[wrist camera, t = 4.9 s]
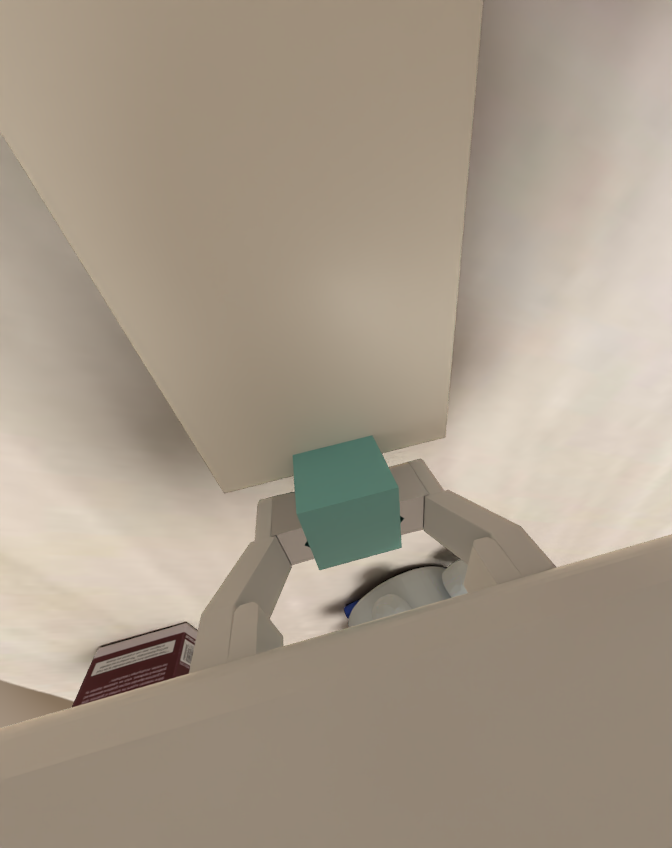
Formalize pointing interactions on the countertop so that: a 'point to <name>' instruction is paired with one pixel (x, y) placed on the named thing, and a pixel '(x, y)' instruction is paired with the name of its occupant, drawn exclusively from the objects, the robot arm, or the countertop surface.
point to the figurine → (409, 592)
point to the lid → (265, 221)
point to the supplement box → (138, 663)
